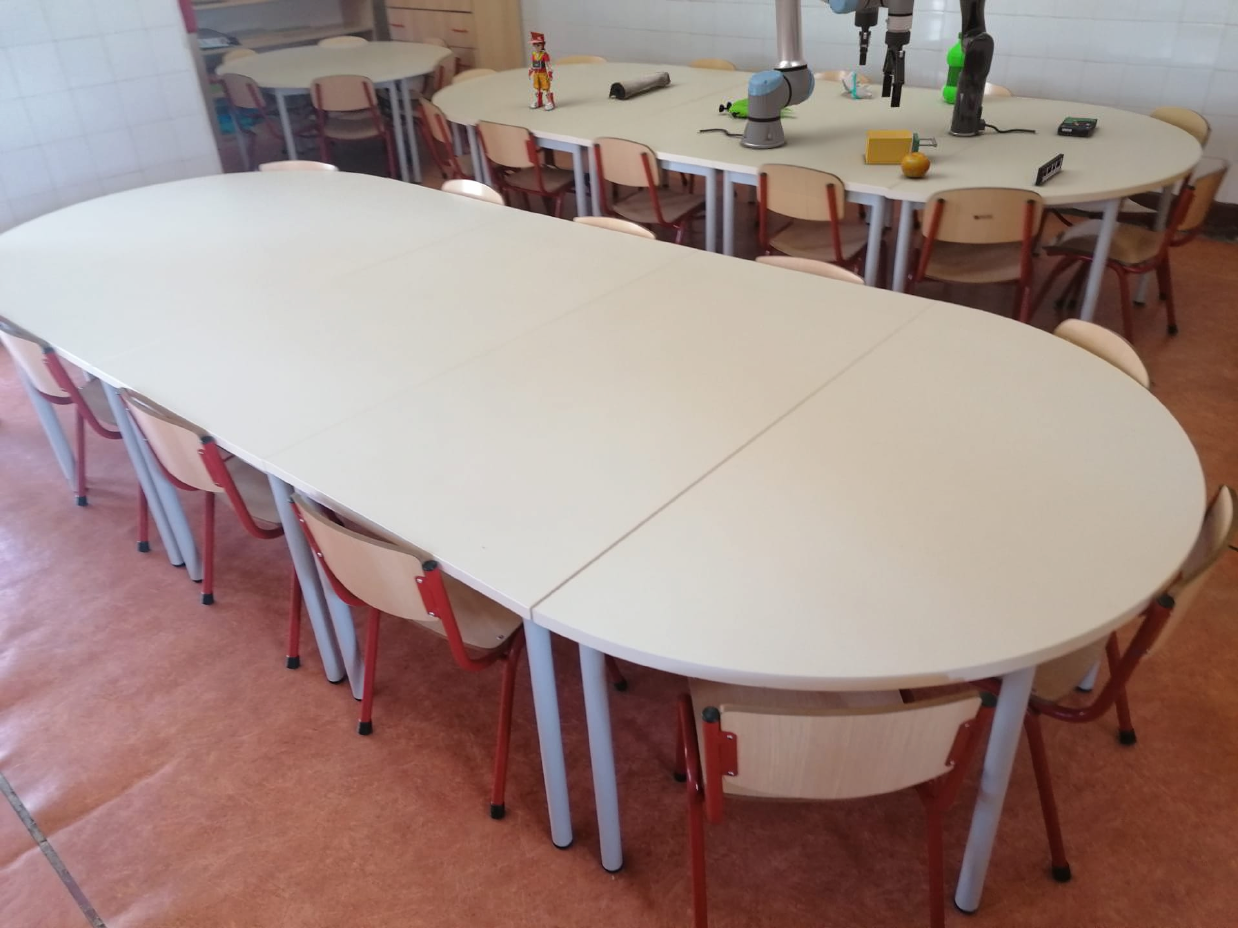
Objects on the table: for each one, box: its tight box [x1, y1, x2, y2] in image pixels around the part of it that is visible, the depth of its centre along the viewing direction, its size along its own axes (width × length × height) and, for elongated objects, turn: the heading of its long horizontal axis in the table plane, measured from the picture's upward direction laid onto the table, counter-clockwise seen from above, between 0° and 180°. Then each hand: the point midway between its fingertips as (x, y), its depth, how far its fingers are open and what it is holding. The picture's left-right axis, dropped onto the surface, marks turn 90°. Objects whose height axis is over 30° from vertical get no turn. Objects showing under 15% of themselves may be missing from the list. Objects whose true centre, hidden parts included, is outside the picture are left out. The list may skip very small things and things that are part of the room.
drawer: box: [910, 132, 938, 153], centre depth 295 cm, size 18×9×6 cm, turn 80°
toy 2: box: [718, 97, 794, 118], centre depth 353 cm, size 28×5×30 cm
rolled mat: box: [608, 71, 672, 101], centre depth 395 cm, size 30×9×10 cm
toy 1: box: [527, 31, 556, 111], centre depth 374 cm, size 12×9×30 cm
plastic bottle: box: [942, 31, 965, 104], centre depth 348 cm, size 10×10×25 cm
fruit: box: [900, 151, 931, 178], centre depth 281 cm, size 8×8×8 cm
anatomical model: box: [841, 70, 873, 100], centre depth 370 cm, size 15×10×10 cm
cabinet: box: [864, 129, 913, 165], centre depth 296 cm, size 13×10×8 cm
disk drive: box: [1057, 116, 1098, 137], centre depth 313 cm, size 10×3×15 cm
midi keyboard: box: [1035, 153, 1065, 186], centre depth 273 cm, size 18×1×5 cm, turn 138°
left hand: (890, 102), depth 291 cm, fingers open, 13 cm apart
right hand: (862, 62), depth 305 cm, fingers open, 8 cm apart
